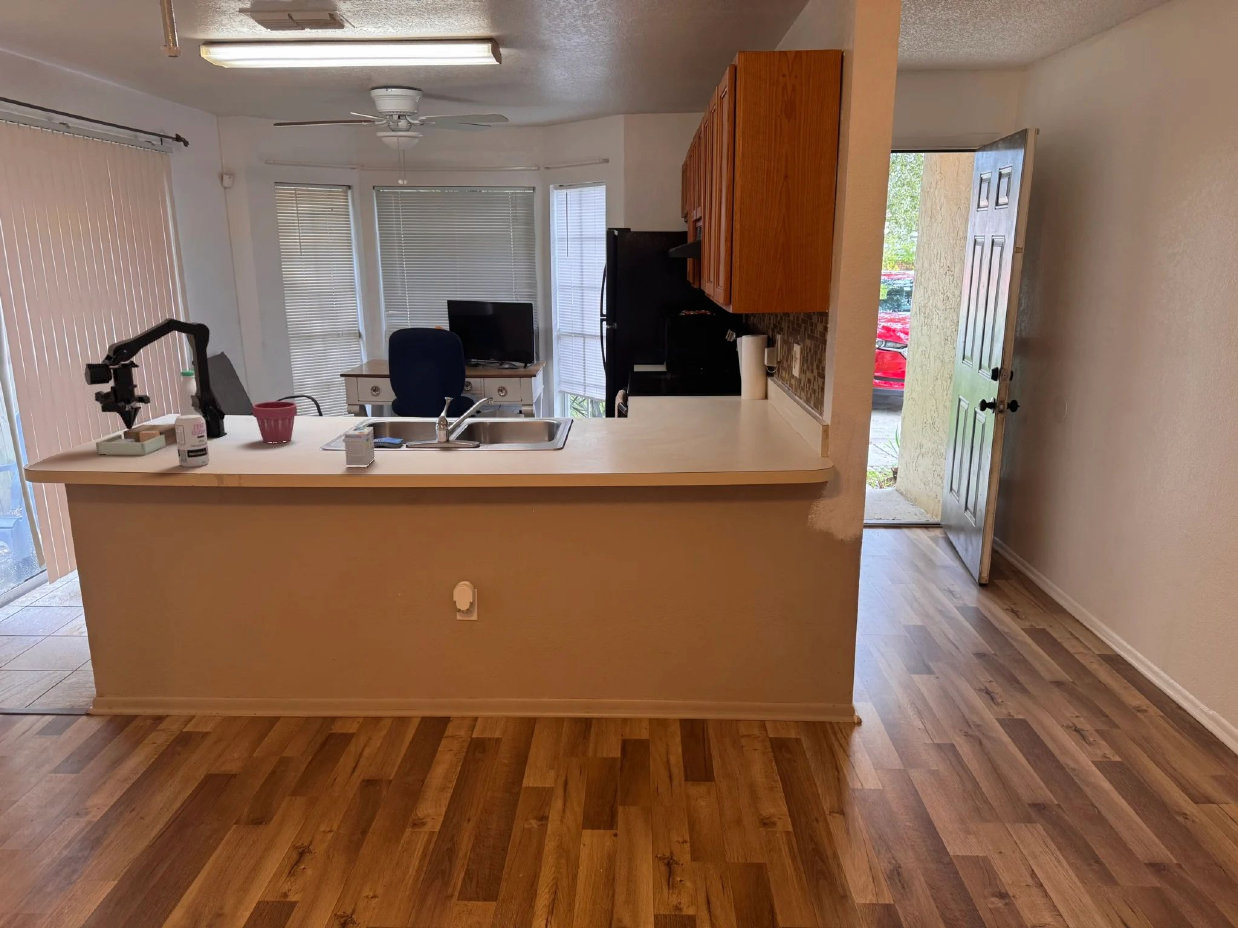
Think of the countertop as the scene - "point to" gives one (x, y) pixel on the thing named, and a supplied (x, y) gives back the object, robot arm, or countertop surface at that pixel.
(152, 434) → the peach square prism
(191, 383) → the milk bottle
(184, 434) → the supplement can
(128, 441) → the pale grey squat block
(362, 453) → the light bulb box
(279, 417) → the plant pot
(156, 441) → the sage tray
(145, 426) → the walnut block
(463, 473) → the countertop surface
